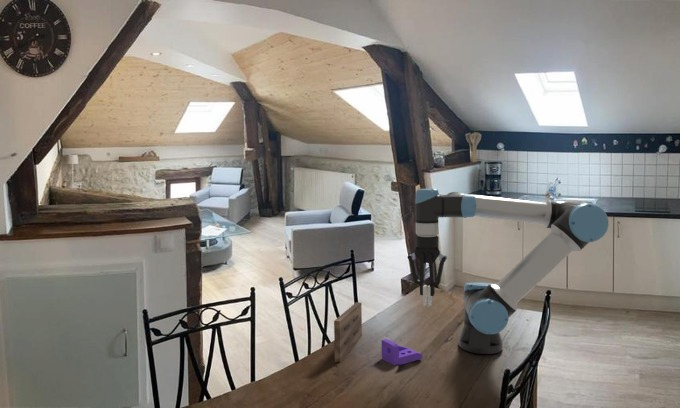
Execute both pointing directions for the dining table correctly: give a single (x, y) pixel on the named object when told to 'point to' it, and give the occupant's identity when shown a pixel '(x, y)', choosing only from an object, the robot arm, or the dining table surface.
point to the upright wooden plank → (347, 331)
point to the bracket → (398, 353)
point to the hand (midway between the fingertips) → (427, 304)
